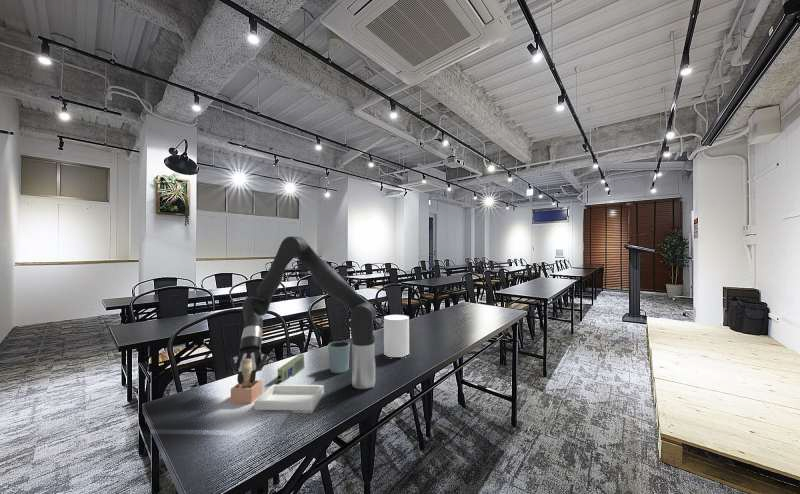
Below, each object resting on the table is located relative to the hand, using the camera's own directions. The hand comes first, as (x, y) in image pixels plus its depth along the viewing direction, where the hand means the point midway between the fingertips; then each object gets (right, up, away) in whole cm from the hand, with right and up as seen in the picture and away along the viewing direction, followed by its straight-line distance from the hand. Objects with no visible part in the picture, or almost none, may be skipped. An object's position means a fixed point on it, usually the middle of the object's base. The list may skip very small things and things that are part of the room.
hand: (246, 382), depth 110 cm
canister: (+54, -9, +53) cm, 76 cm away
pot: (-1, -8, +2) cm, 8 cm away
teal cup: (+27, -8, +32) cm, 43 cm away
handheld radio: (+7, -9, +22) cm, 25 cm away
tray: (+16, -7, 0) cm, 18 cm away
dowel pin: (-1, -7, +2) cm, 7 cm away
